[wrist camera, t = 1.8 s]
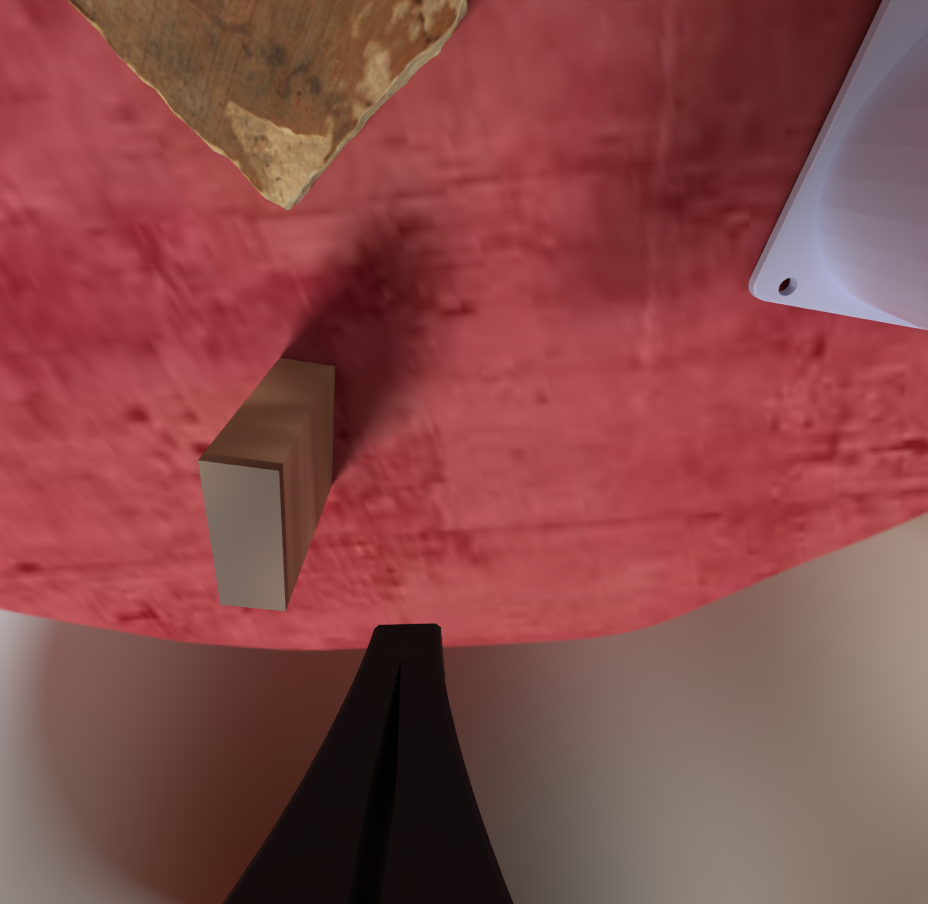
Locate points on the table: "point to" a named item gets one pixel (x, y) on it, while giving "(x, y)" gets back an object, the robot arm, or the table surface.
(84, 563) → the table surface
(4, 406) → the table surface
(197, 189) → the table surface
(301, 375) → the oak slab
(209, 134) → the shard
